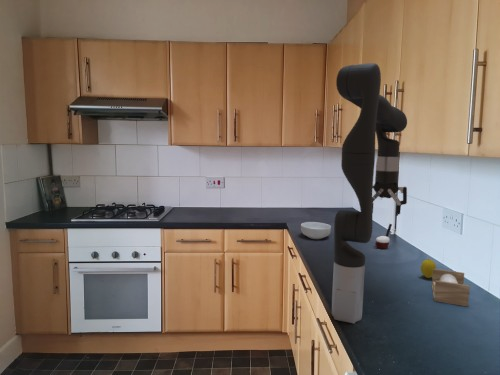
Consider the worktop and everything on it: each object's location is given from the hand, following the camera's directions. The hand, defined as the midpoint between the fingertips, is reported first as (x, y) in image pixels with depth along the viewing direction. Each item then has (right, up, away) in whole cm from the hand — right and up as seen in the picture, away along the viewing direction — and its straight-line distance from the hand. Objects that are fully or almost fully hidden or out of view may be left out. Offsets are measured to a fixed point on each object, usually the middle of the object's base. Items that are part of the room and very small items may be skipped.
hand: (384, 214), depth 129 cm
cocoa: (+19, -21, +54) cm, 61 cm away
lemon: (+23, -27, +14) cm, 38 cm away
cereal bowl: (-12, -19, +72) cm, 75 cm away
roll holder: (+22, -29, -2) cm, 37 cm away
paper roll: (+22, -25, -2) cm, 34 cm away
